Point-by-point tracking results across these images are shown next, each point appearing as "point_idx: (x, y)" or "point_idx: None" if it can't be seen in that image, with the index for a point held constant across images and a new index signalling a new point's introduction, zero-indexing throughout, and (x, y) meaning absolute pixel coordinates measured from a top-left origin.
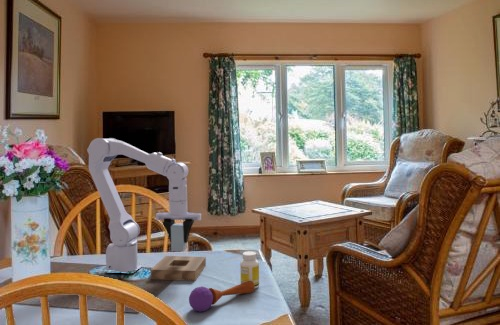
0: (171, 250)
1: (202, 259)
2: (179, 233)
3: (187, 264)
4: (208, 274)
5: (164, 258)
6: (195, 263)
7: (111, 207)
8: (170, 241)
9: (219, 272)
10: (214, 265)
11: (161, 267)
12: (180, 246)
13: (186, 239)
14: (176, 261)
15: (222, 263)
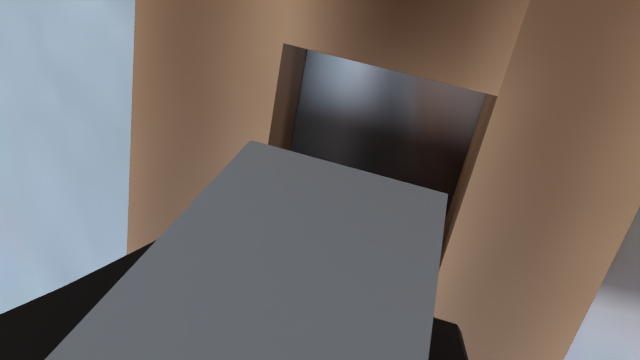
0: (443, 195)
1: (140, 228)
2: (179, 351)
3: (268, 95)
4: (103, 18)
5: (546, 348)
6: (187, 116)
7: None
8: (453, 331)
9: (22, 58)
10: (98, 237)
11: (593, 32)
12: (272, 185)
13: (118, 263)
14: None
15: (48, 267)
